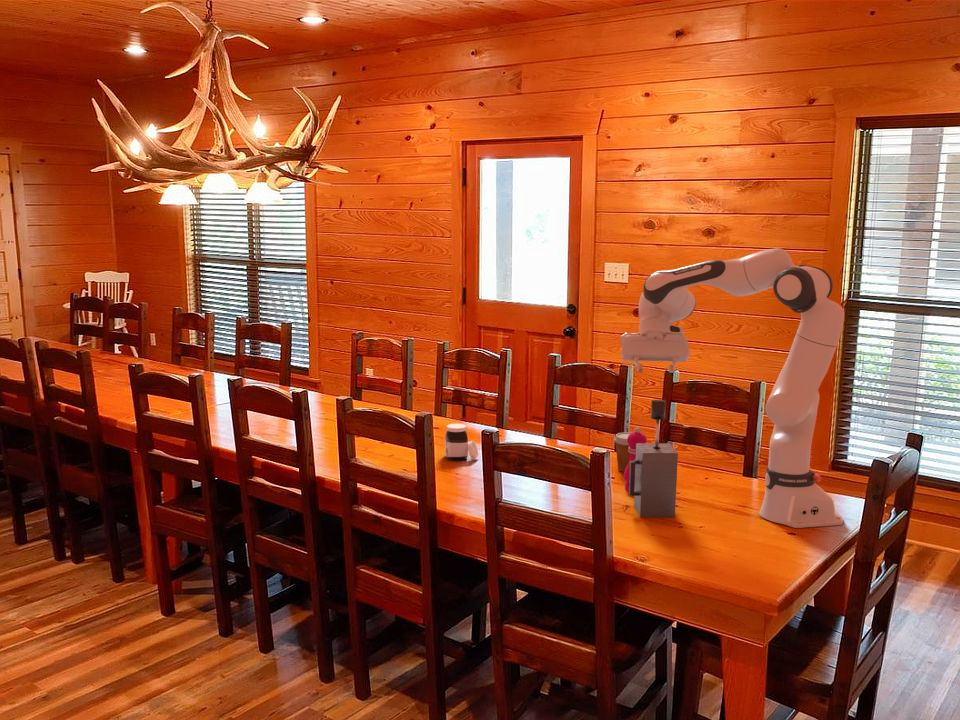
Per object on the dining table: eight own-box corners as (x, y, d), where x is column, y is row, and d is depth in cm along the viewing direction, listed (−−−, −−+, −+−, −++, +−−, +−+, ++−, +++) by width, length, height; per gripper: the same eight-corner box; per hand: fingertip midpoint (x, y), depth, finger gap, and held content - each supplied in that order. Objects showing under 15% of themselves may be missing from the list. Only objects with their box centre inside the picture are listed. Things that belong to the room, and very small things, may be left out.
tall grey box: (667, 505, 261) (670, 443, 257) (674, 517, 251) (677, 453, 247) (625, 505, 260) (628, 443, 257) (631, 517, 251) (634, 452, 247)
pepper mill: (646, 493, 271) (649, 431, 268) (622, 492, 272) (625, 429, 269) (646, 486, 278) (649, 425, 275) (623, 484, 279) (626, 424, 276)
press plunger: (666, 454, 257) (669, 398, 254) (672, 462, 249) (675, 404, 246) (640, 454, 257) (642, 398, 254) (645, 462, 249) (647, 404, 246)
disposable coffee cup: (643, 474, 290) (645, 439, 288) (615, 474, 290) (616, 439, 288) (639, 466, 300) (640, 432, 297) (611, 465, 300) (612, 431, 298)
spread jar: (442, 454, 312) (442, 423, 310) (473, 452, 315) (473, 421, 313) (449, 464, 300) (449, 431, 298) (481, 462, 303) (482, 429, 301)
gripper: (620, 327, 267) (621, 364, 259) (688, 328, 265) (691, 365, 257) (619, 339, 272) (619, 376, 264) (686, 340, 270) (689, 377, 262)
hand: (655, 371), depth 260 cm, fingers open, 8 cm apart
